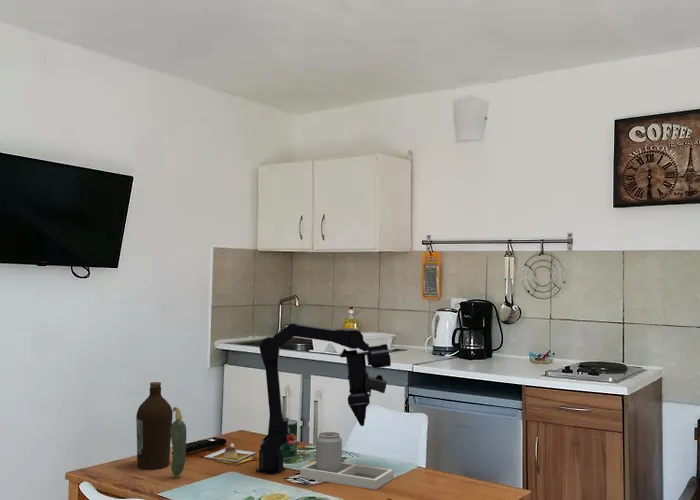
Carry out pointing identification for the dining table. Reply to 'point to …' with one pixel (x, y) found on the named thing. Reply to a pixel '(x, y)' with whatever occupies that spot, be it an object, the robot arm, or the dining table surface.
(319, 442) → the can
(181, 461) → the vegetable
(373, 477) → the mat
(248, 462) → the dining table surface
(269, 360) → the robot arm
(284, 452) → the canned tomato
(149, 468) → the olive oil
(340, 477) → the organizer
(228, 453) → the dessert
